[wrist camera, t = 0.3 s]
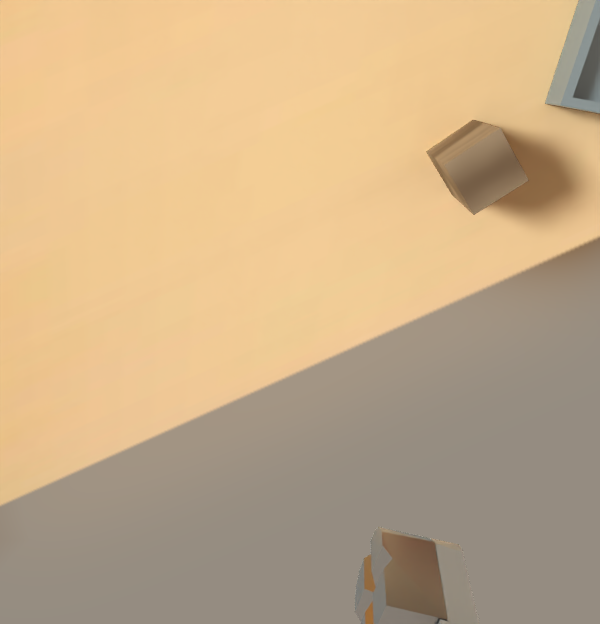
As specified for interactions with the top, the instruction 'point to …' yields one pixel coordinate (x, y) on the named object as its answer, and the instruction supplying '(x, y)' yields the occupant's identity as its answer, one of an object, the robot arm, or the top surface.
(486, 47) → the top surface
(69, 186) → the top surface
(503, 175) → the walnut block
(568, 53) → the tray
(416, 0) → the top surface
